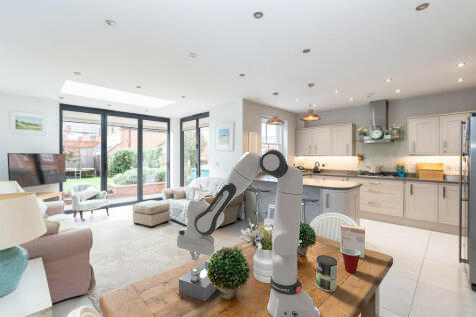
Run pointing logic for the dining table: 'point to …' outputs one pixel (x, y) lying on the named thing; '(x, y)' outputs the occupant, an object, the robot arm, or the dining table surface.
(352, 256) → the plastic cup
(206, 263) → the cartridge
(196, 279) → the plunger
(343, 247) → the coffeecake box
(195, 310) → the dining table surface
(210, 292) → the filter housing
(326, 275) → the coffee can
